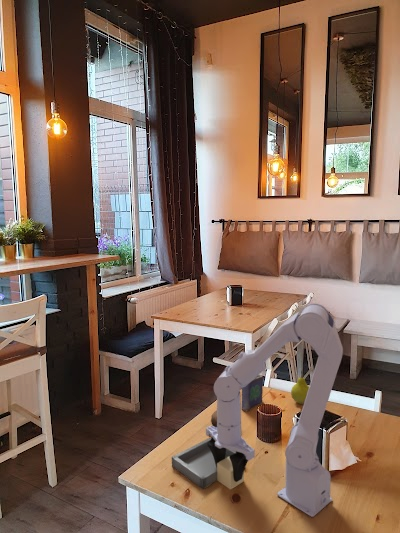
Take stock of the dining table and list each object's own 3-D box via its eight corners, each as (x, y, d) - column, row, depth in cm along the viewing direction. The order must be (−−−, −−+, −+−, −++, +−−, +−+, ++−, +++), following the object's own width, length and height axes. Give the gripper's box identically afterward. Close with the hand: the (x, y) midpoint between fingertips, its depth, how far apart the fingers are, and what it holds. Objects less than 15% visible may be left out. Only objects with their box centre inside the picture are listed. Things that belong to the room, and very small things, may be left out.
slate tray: (243, 464, 104) (243, 455, 103) (202, 489, 94) (202, 479, 94) (211, 445, 113) (211, 436, 112) (171, 466, 103) (171, 456, 103)
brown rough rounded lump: (223, 407, 128) (223, 398, 123) (243, 423, 123) (243, 414, 119) (206, 426, 124) (205, 416, 120) (226, 443, 120) (225, 434, 115)
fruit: (293, 396, 142) (294, 364, 140) (313, 400, 139) (314, 366, 137) (289, 405, 136) (289, 371, 134) (309, 409, 133) (310, 374, 131)
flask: (246, 412, 131) (246, 378, 130) (238, 409, 133) (238, 376, 132) (264, 402, 138) (264, 370, 136) (257, 399, 140) (257, 367, 139)
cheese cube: (243, 481, 97) (243, 463, 97) (230, 489, 94) (230, 471, 94) (230, 472, 100) (230, 455, 100) (217, 480, 98) (217, 463, 97)
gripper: (196, 415, 99) (197, 466, 100) (239, 439, 88) (239, 496, 89) (217, 406, 103) (217, 455, 105) (260, 428, 92) (260, 482, 94)
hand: (229, 473), depth 97 cm, fingers open, 5 cm apart
